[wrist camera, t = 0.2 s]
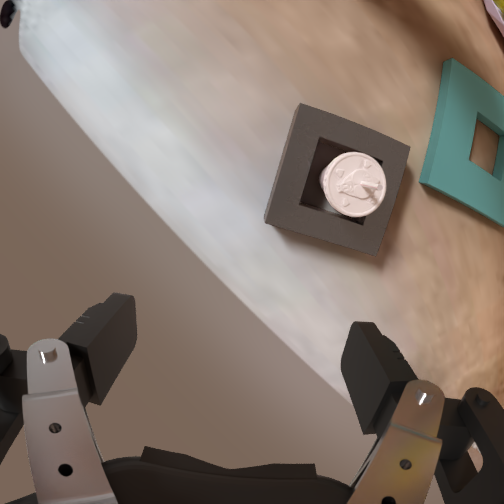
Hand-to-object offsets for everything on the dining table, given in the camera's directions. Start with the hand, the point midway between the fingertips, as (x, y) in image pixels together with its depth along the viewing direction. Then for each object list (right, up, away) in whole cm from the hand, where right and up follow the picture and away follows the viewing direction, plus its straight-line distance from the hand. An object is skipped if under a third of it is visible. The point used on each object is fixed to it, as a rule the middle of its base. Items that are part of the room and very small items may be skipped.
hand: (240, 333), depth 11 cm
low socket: (+35, +19, +23) cm, 47 cm away
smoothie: (+11, +12, +26) cm, 31 cm away
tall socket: (+11, +12, +26) cm, 30 cm away
